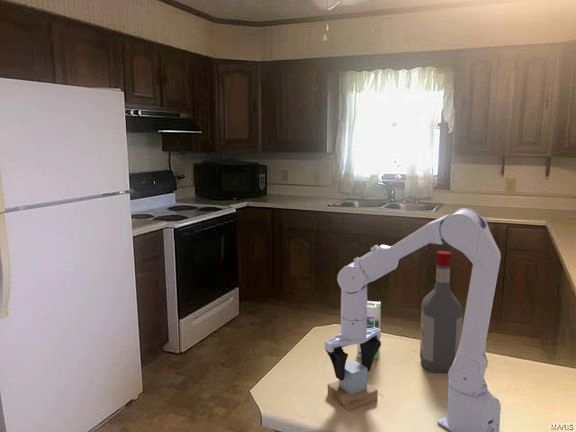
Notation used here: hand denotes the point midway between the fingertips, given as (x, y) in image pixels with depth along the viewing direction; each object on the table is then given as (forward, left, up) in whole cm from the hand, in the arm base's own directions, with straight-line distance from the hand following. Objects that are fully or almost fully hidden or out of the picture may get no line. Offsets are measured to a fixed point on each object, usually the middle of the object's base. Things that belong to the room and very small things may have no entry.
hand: (353, 374), depth 104 cm
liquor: (0, -29, -6) cm, 30 cm away
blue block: (0, 0, -3) cm, 3 cm away
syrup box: (+15, -18, -6) cm, 24 cm away
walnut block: (0, 0, -6) cm, 6 cm away
